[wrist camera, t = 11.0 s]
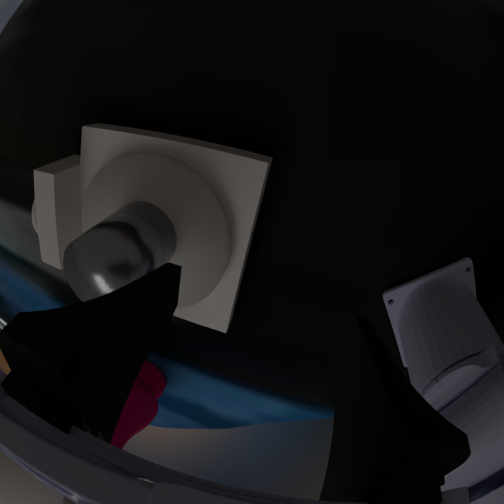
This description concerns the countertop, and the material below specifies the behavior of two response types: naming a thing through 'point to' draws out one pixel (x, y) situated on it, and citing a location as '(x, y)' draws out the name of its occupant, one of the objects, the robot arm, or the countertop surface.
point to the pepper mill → (138, 407)
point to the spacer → (119, 250)
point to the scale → (161, 206)
